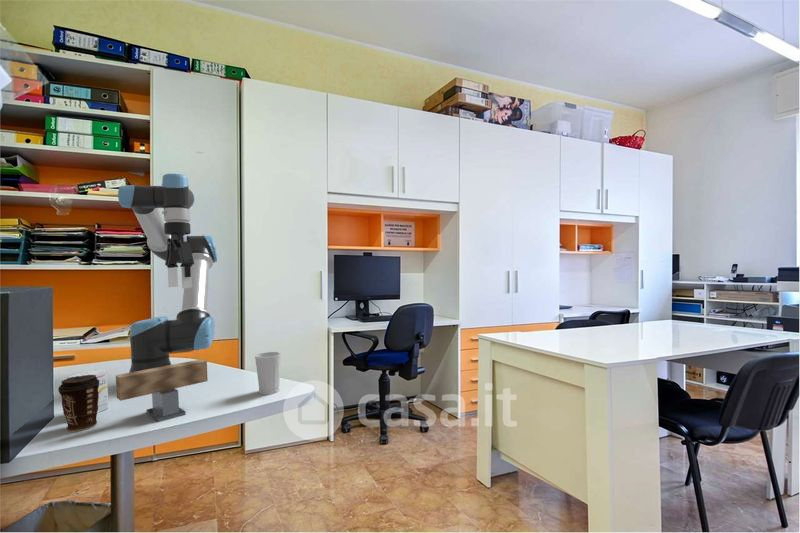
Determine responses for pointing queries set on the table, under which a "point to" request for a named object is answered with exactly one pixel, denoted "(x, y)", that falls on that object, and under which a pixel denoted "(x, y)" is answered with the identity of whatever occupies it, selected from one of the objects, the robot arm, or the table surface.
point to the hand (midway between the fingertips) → (180, 287)
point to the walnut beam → (160, 379)
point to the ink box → (102, 388)
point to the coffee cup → (80, 401)
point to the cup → (268, 372)
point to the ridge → (165, 405)
